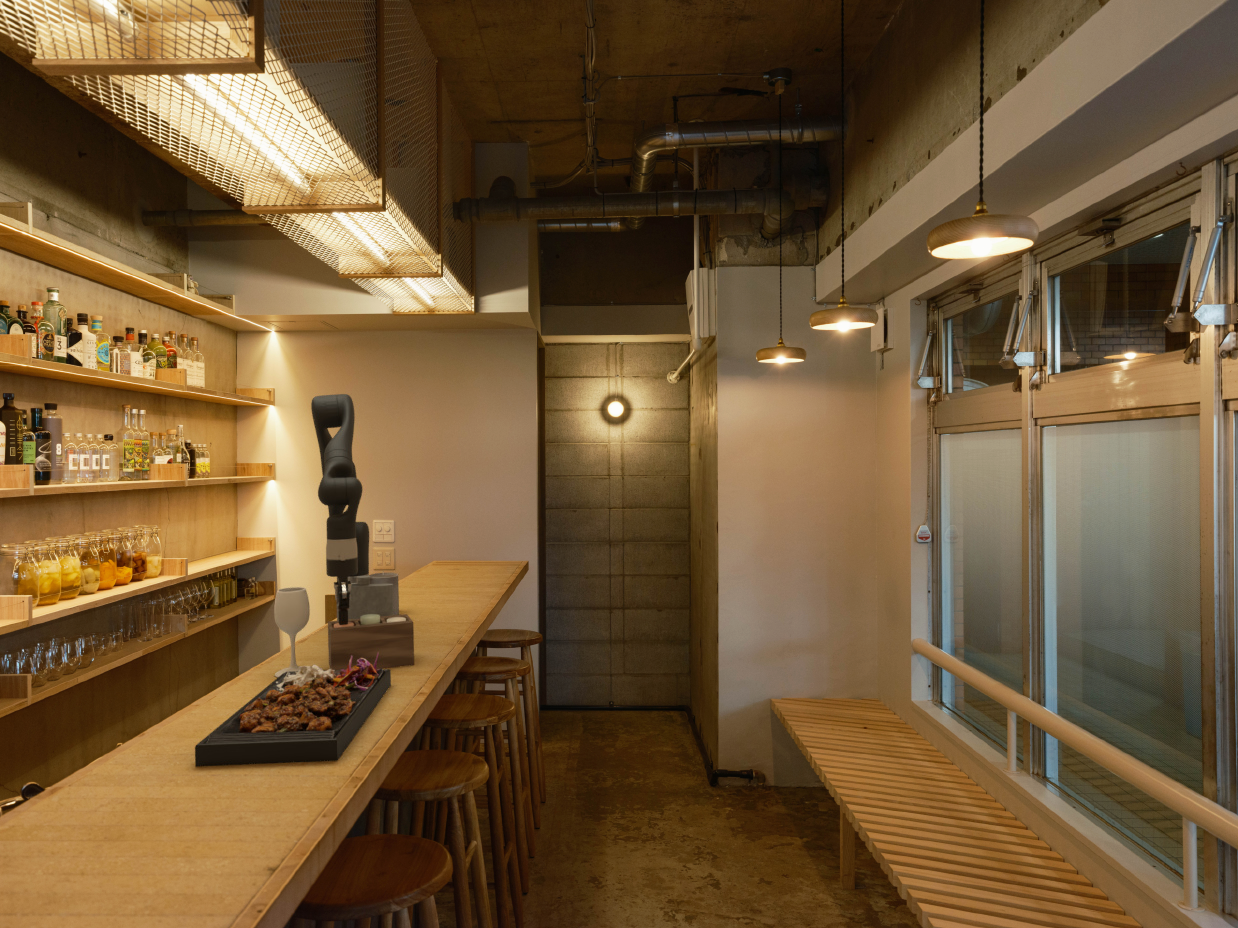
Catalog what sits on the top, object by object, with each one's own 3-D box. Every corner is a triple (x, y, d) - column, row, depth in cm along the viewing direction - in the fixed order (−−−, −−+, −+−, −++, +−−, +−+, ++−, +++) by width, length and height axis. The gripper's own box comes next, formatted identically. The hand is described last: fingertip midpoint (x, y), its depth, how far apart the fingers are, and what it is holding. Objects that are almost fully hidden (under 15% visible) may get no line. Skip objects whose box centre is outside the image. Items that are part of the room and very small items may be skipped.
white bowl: (266, 675, 197) (264, 591, 197) (295, 666, 205) (293, 585, 204) (291, 680, 193) (289, 593, 193) (319, 670, 201) (317, 587, 200)
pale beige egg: (385, 631, 210) (385, 618, 210) (404, 629, 212) (404, 616, 212) (388, 635, 206) (387, 621, 206) (407, 633, 208) (407, 619, 207)
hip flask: (395, 645, 226) (394, 574, 226) (391, 648, 222) (389, 576, 222) (340, 645, 227) (338, 574, 226) (334, 648, 223) (332, 577, 222)
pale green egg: (359, 628, 207) (359, 615, 207) (379, 626, 209) (378, 613, 209) (361, 632, 203) (361, 618, 203) (381, 630, 205) (381, 616, 205)
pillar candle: (367, 614, 268) (365, 570, 267) (396, 611, 272) (395, 567, 271) (371, 620, 259) (369, 574, 258) (401, 617, 263) (400, 571, 262)
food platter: (283, 691, 187) (282, 647, 186) (390, 687, 188) (390, 644, 188) (195, 770, 142) (193, 712, 141) (337, 764, 143) (336, 707, 143)
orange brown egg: (333, 636, 205) (333, 623, 205) (353, 634, 207) (352, 621, 207) (334, 640, 200) (334, 626, 200) (354, 638, 202) (354, 625, 202)
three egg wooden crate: (328, 663, 208) (327, 621, 207) (407, 654, 215) (406, 614, 215) (331, 674, 197) (330, 630, 197) (414, 664, 205) (413, 622, 205)
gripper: (324, 554, 208) (326, 620, 208) (327, 560, 196) (329, 631, 196) (355, 552, 211) (356, 617, 211) (359, 558, 198) (361, 628, 199)
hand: (343, 624), depth 203 cm, fingers closed
